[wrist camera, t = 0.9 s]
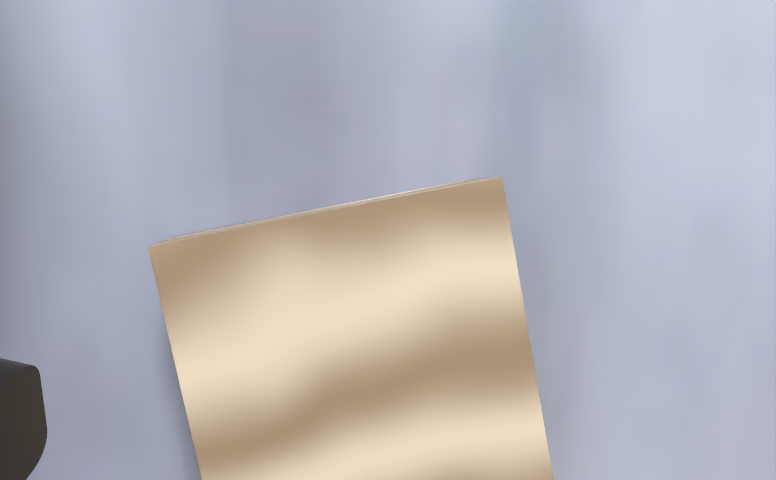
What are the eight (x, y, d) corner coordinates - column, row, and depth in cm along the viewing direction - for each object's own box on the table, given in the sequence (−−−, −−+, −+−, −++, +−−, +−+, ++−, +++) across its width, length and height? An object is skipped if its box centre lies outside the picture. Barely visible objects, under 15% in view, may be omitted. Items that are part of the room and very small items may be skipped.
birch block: (174, 236, 29) (147, 246, 24) (469, 179, 30) (501, 177, 25) (239, 523, 30) (227, 589, 25) (517, 453, 32) (557, 502, 27)
